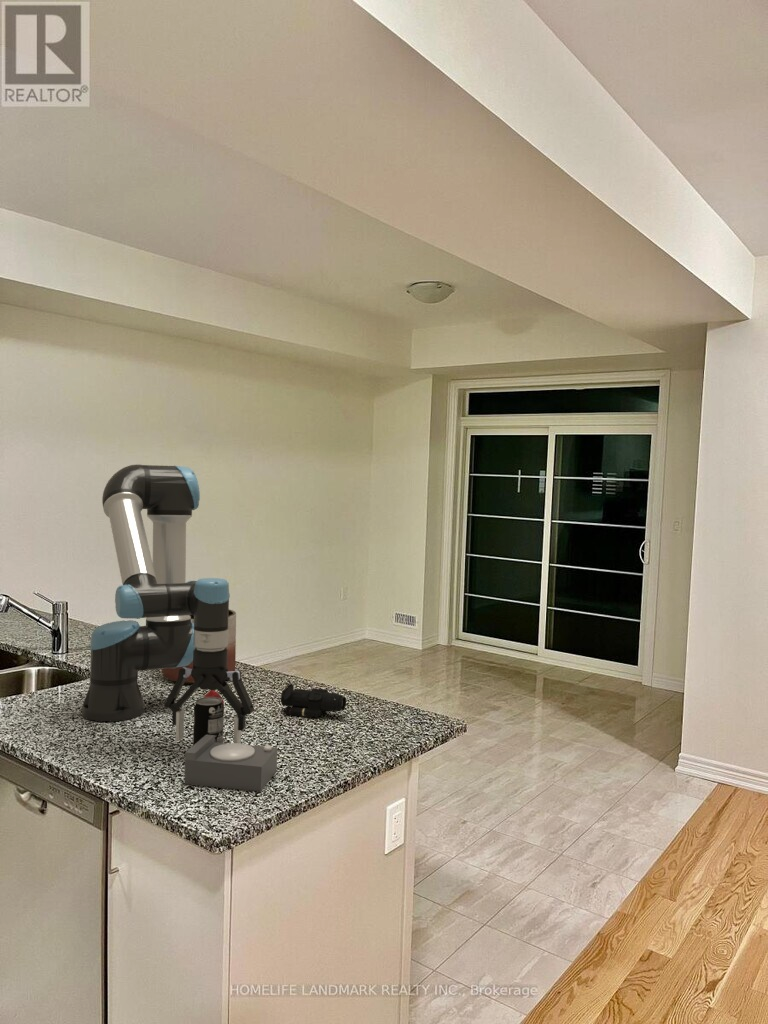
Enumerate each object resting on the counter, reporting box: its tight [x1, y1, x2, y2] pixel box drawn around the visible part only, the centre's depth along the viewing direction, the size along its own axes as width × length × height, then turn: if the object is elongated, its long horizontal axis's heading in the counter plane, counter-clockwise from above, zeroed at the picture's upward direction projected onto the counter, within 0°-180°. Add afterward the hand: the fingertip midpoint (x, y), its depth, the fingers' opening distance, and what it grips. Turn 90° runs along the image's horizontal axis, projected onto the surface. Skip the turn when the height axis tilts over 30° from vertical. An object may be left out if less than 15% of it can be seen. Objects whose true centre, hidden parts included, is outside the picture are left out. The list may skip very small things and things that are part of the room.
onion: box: [203, 690, 225, 707], centre depth 193 cm, size 6×6×8 cm
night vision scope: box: [280, 683, 347, 719], centre depth 199 cm, size 8×18×10 cm
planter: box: [161, 608, 237, 685], centre depth 234 cm, size 22×22×20 cm
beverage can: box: [192, 696, 225, 746], centre depth 169 cm, size 7×7×12 cm
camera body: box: [184, 735, 278, 792], centre depth 156 cm, size 16×11×6 cm
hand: (208, 741), depth 170 cm, fingers open, 13 cm apart
